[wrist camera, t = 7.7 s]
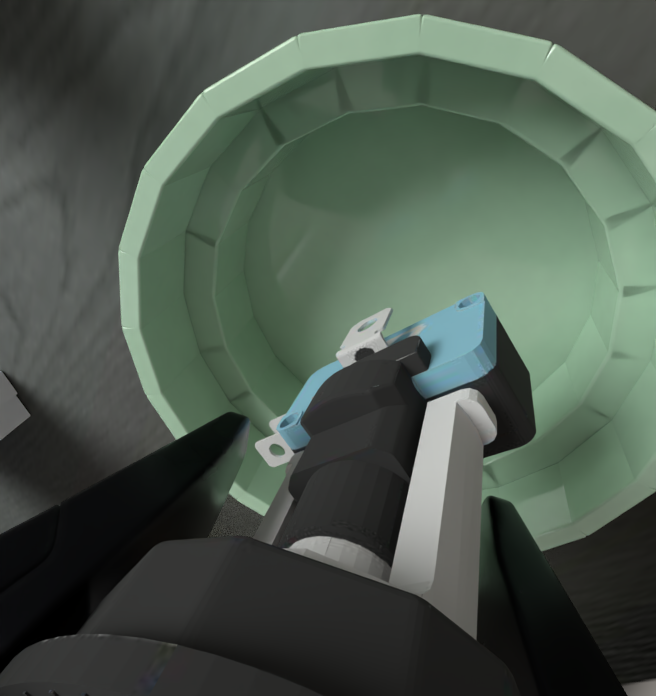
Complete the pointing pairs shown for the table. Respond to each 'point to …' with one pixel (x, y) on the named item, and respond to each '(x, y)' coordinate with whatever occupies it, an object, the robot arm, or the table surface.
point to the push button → (330, 541)
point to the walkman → (10, 408)
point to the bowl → (409, 244)
